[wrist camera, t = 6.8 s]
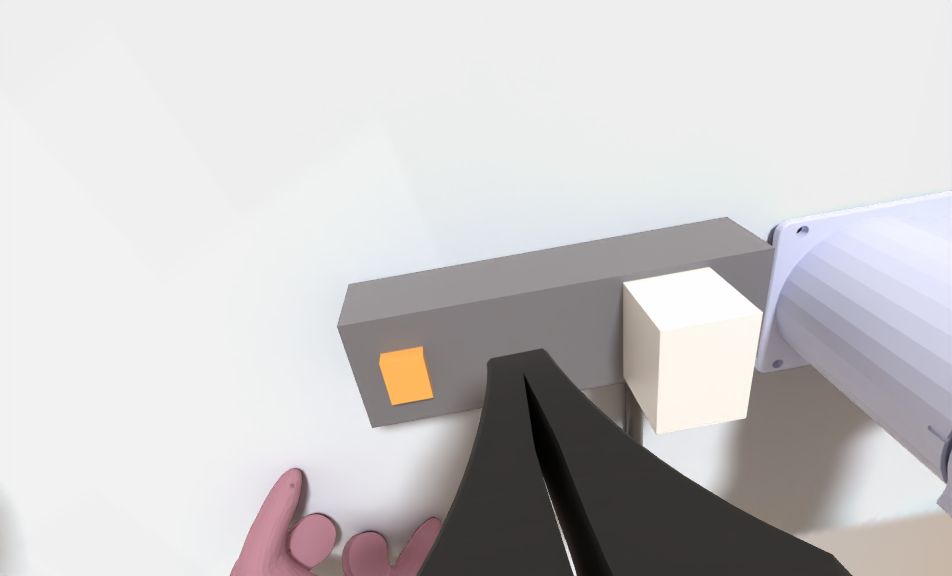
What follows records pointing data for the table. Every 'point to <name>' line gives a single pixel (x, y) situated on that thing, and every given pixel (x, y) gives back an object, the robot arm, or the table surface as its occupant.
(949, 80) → the table surface
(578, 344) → the power strip
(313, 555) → the video game controller
